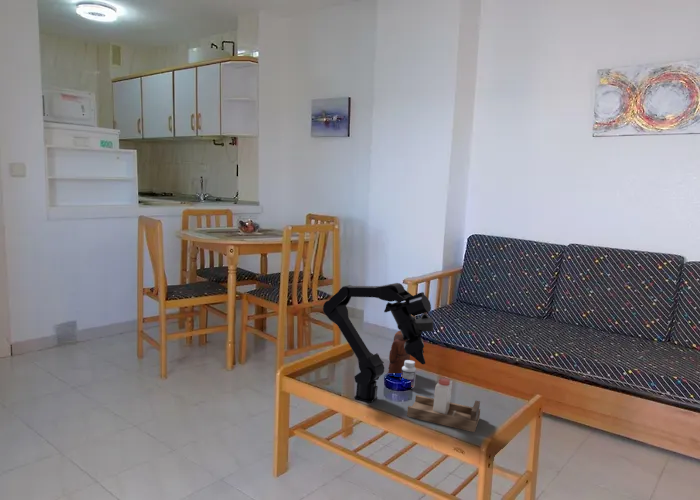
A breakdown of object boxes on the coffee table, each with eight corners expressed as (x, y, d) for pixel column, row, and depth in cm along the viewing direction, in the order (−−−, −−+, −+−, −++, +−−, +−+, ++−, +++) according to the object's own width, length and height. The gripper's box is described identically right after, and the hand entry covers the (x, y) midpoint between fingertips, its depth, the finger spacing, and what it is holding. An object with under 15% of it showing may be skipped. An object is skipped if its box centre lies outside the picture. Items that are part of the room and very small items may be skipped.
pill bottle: (403, 382, 199) (405, 358, 198) (416, 385, 197) (418, 361, 196) (398, 386, 194) (400, 361, 193) (411, 390, 192) (413, 365, 191)
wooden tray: (406, 416, 168) (408, 398, 167) (415, 403, 179) (417, 386, 179) (474, 432, 160) (476, 413, 160) (479, 418, 171) (481, 400, 171)
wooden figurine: (396, 368, 215) (400, 327, 213) (410, 372, 212) (414, 330, 210) (384, 376, 205) (388, 332, 203) (399, 380, 202) (403, 335, 200)
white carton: (432, 415, 167) (435, 382, 166) (437, 406, 175) (440, 375, 173) (444, 418, 165) (448, 385, 164) (449, 409, 173) (452, 377, 172)
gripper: (427, 318, 162) (448, 360, 164) (424, 301, 180) (442, 339, 182) (395, 332, 164) (416, 373, 166) (395, 313, 182) (414, 351, 184)
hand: (423, 358), depth 175 cm, fingers open, 9 cm apart
